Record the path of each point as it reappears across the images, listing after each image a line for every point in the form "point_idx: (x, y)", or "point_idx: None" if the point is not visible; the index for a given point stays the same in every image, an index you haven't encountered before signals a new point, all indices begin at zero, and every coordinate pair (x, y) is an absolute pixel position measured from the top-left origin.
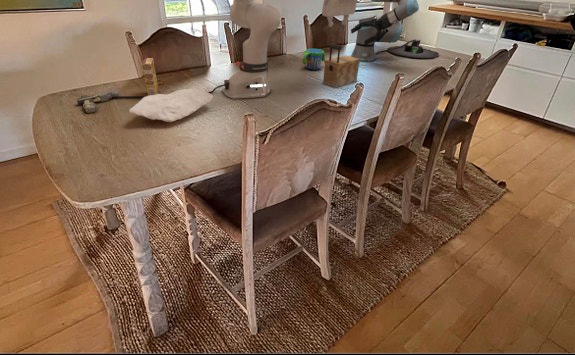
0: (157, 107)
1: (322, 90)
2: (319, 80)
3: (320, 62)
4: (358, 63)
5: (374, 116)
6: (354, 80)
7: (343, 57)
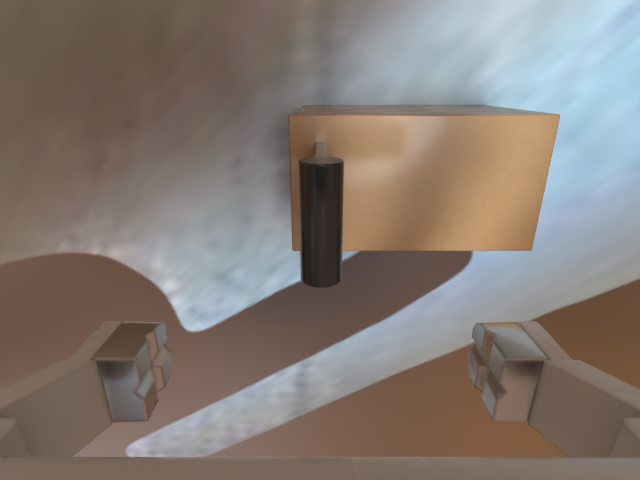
0: None
1: (212, 193)
2: (318, 59)
3: None
4: None
5: None
6: None
7: (479, 151)
